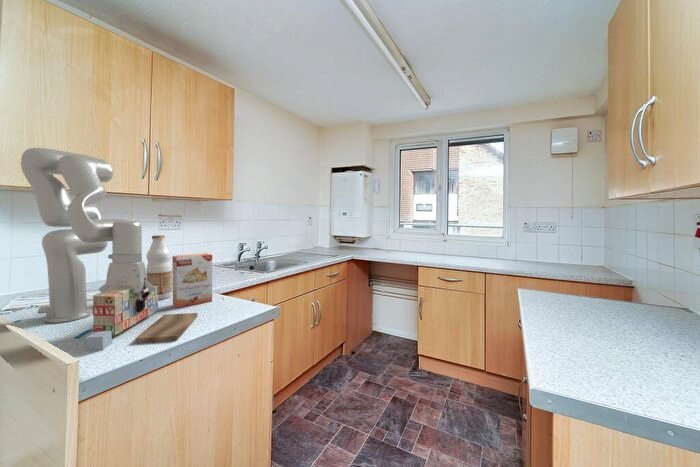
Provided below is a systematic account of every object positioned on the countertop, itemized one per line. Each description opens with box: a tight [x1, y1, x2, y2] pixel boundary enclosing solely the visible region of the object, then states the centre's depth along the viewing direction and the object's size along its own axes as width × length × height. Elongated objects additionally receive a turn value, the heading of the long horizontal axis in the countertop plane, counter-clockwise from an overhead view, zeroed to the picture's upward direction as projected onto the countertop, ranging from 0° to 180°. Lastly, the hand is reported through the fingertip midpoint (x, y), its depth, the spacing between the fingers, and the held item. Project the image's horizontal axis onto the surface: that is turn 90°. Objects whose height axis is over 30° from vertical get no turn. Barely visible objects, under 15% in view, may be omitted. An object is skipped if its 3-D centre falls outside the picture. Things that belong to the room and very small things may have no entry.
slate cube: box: [85, 331, 113, 352], centre depth 80 cm, size 4×4×4 cm
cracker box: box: [171, 252, 213, 309], centre depth 119 cm, size 14×6×21 cm, turn 137°
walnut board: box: [134, 312, 198, 344], centre depth 94 cm, size 11×20×2 cm, turn 12°
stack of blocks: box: [92, 286, 159, 336], centre depth 94 cm, size 21×6×12 cm, turn 4°
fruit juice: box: [146, 234, 173, 301], centre depth 126 cm, size 9×9×28 cm
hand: (127, 310), depth 94 cm, fingers closed on stack of blocks, 6 cm apart
